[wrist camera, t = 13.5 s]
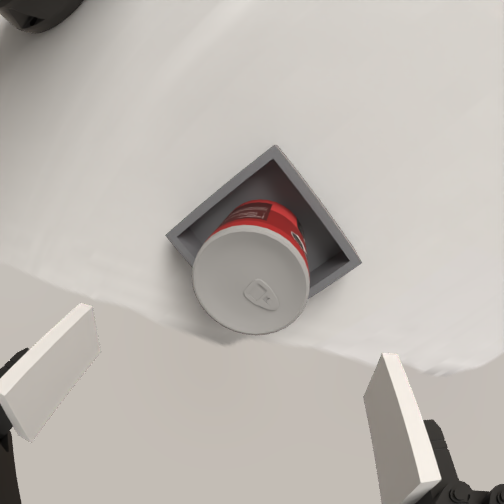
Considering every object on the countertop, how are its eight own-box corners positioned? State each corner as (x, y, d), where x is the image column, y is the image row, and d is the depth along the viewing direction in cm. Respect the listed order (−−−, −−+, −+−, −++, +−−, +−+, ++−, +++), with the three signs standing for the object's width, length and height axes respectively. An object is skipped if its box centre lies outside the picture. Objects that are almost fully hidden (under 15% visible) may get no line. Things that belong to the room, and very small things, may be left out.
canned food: (283, 286, 32) (277, 352, 22) (212, 253, 32) (175, 305, 22) (319, 221, 29) (333, 263, 19) (242, 183, 29) (215, 206, 19)
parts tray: (179, 224, 32) (165, 235, 28) (276, 144, 28) (274, 144, 24) (256, 313, 34) (251, 333, 31) (354, 248, 31) (362, 262, 27)
